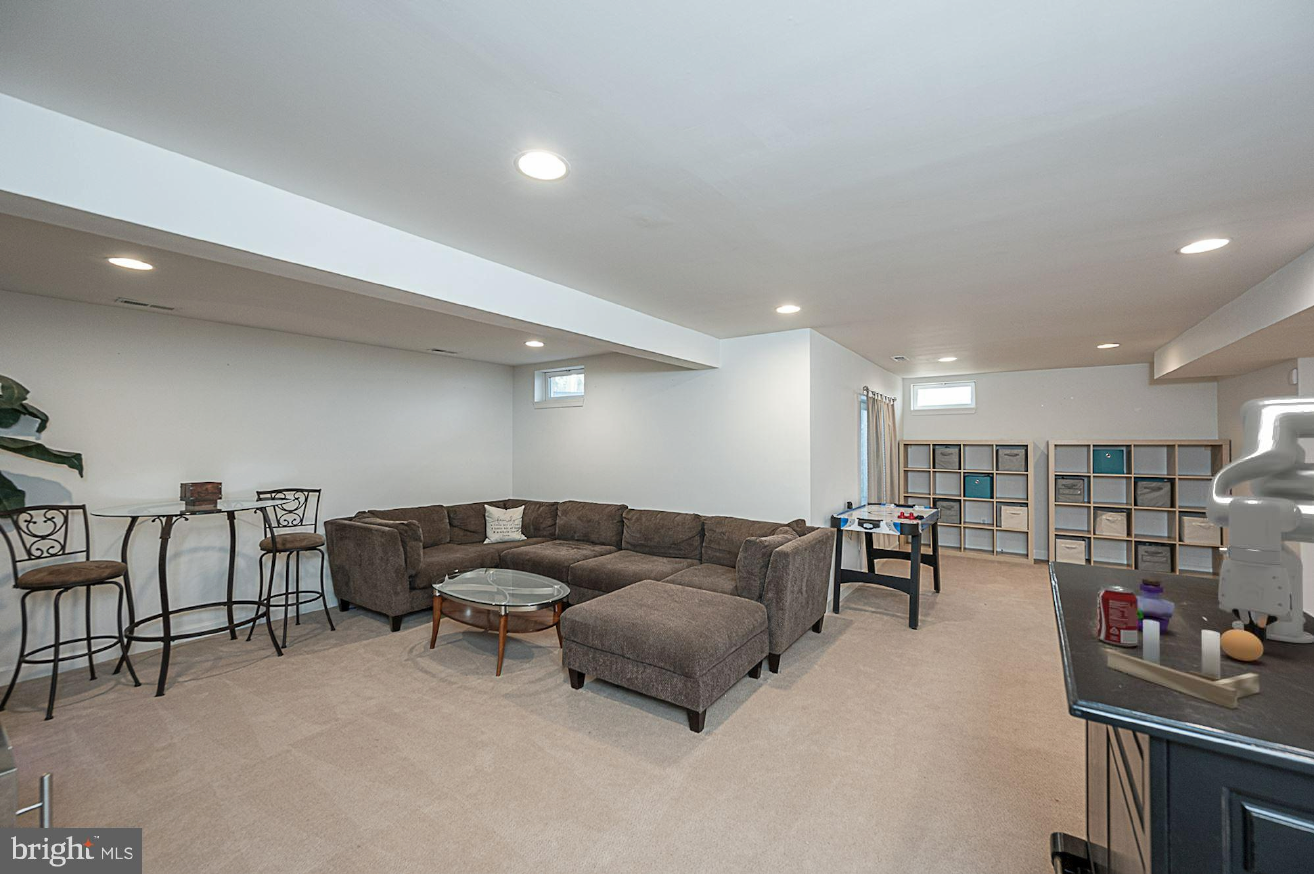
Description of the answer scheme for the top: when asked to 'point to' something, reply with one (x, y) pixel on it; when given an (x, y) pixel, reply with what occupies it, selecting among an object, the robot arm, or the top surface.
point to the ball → (1241, 645)
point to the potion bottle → (1153, 605)
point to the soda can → (1117, 616)
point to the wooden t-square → (1188, 680)
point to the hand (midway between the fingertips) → (1255, 643)
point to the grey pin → (1151, 641)
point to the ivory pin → (1211, 653)
